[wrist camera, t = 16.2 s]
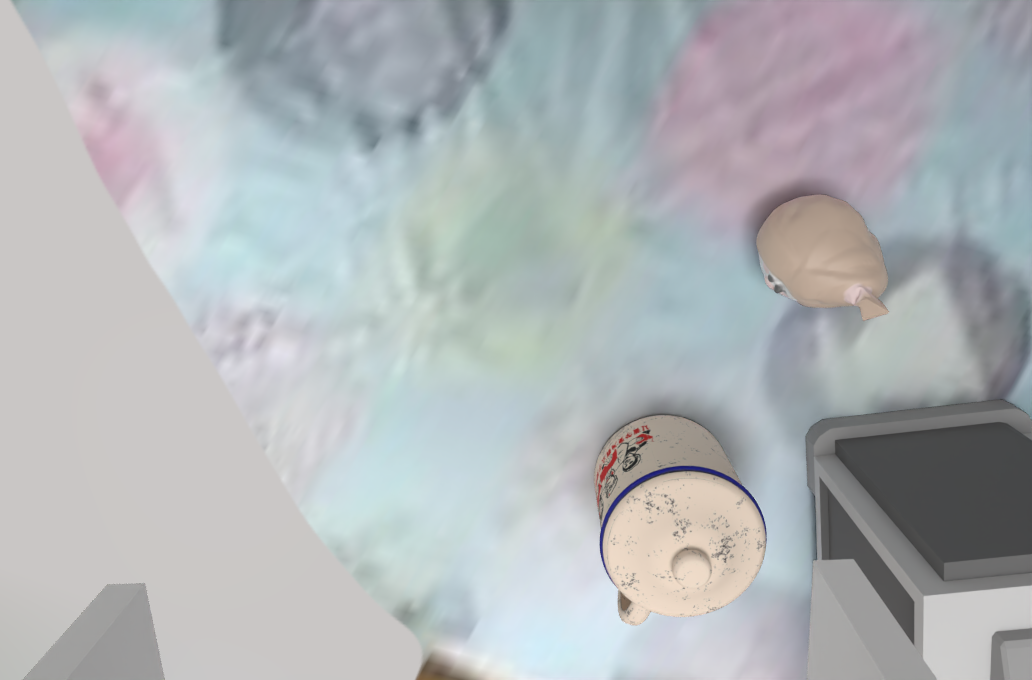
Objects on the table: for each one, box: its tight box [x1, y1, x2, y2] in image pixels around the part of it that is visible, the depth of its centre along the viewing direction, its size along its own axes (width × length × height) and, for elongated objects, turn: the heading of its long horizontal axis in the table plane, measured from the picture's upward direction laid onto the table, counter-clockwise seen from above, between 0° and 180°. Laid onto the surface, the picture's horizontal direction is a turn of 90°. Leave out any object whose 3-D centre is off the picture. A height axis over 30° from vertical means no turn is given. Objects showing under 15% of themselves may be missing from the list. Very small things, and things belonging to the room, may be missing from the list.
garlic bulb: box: [756, 195, 889, 321], centre depth 45 cm, size 7×6×8 cm
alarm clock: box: [806, 399, 1032, 680], centre depth 45 cm, size 18×13×18 cm
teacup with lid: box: [594, 415, 767, 625], centre depth 48 cm, size 12×9×12 cm
